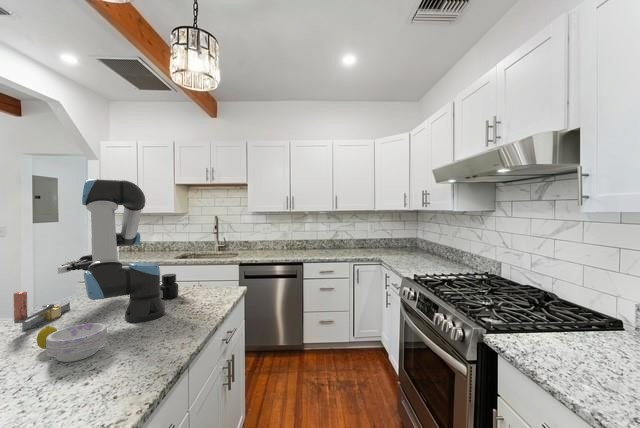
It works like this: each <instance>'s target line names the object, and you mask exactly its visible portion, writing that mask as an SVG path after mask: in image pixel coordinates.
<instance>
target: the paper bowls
mask: <svg viewBox="0 0 640 428" xmlns="http://www.w3.org/2000/svg"><path fill="white" fill-rule="evenodd" d="M107 328H108V326H107V325H106V324H104V323H101V322H99V323H96V322H93V323H82V324H75V325H72V326H68V327H65V328H62V329H61V328H60V329H57V330H58V331H56V332H53V333H51V334H50V335H49V336H48V337H47V338H46V349H45V351H46V355H48V356H49V357H55V359H56V361H59V362H62V363H72V362H77V361H81V360H83V359H84V360H85V359H87V358H89V357H91V356H93V355H95V354H97V352H98V351H99V349H100V347H101V346H104V344H106V343H107V340H108V332H107V331H108V329H107Z"/></svg>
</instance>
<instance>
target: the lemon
mask: <svg viewBox="0 0 640 428" xmlns="http://www.w3.org/2000/svg"><path fill="white" fill-rule="evenodd" d="M58 330H59V329H57V328H56V327H55V326H50V325H47V326H45V327H44V328H42V329H41V330H39V332H38V334H37V335H36V344H37V346H38V347H39V348H40V349H43V350H46V338H47V337H48V336H49V335H50V334H51V333H53V332H56V331H58Z"/></svg>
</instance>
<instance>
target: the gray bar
mask: <svg viewBox="0 0 640 428" xmlns="http://www.w3.org/2000/svg"><path fill="white" fill-rule="evenodd" d="M70 305H71V302H61V303H58V304H57V305H54V308H52V309H48V310H46V311H44V312H42V313H40V314H38V315H36V316H34V317H32V318H30V319H28V320H27V321H25V322H23V323H21V324H22V325H21V326H22V327H21V329H22V330H23V331H24V330H33V329H34V328H36V327H38V326H40V325H42V324H44V323H46V322H50V321H53V320H55V319H57V318H58V317H61V315H62V314H63V313H65V312H67V311H68V309H69V310H70V309H71V306H70Z"/></svg>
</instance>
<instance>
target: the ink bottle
mask: <svg viewBox="0 0 640 428" xmlns="http://www.w3.org/2000/svg"><path fill="white" fill-rule="evenodd" d="M176 281H177V274H176V273H165V274H162V275H161V284H160V297H161V300H162V301H167V300H168V301H169V300H175V299H177V298H178V297H179V284H178V283H177V282H176Z"/></svg>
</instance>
